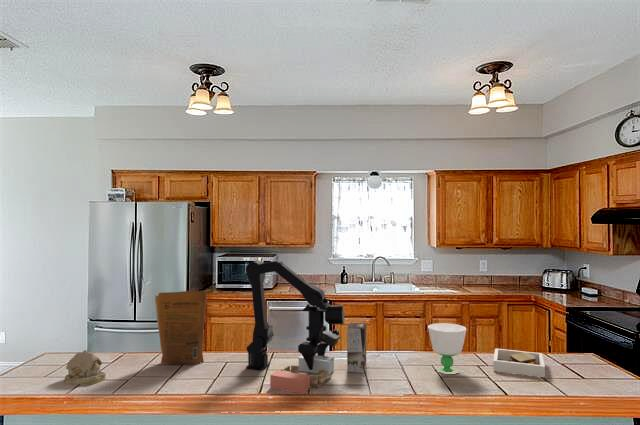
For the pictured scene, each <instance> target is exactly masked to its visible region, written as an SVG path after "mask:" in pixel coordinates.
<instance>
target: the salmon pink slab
mask: <svg viewBox="0 0 640 425" xmlns="http://www.w3.org/2000/svg"><path fill="white" fill-rule="evenodd" d="M269 378H270V379H269V383H270V384H269V385H270V386H269V388H270V389H273V390H279V391H285V392H292V393H297V394H305V393H306V392H307V391H308V390H310V388H311V387H310V375H305V374H299V373H292V372H285V371H281V370H276V371H275V372H273V373H271V374H269Z"/></svg>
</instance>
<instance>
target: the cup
mask: <svg viewBox="0 0 640 425" xmlns="http://www.w3.org/2000/svg"><path fill="white" fill-rule="evenodd" d="M427 329H428V334H429V339H430V344H431V347H432V351H434V353H436V354H438V355H440V356H442V357H441V358H440V364H441V366H444V368H441V369H440V370H442V371H445V372H452V371H454V370H453V369H451V368H450V367H453V365H454V359H453V357H454V356H458V355H460V354H461V353H462V351H463V348H464V343H465V338H466V333H467V327H465V326H464V325H460V324H456V323H449V322H448V323H447V322H446V323H444V322H438V323H431V324H429V325H427Z"/></svg>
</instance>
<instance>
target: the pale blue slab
mask: <svg viewBox="0 0 640 425" xmlns="http://www.w3.org/2000/svg"><path fill="white" fill-rule="evenodd" d="M298 365H299V372H306V373H313V374H318V369H319V368H320V369H326V371H327V376H331V374H332V373H333V372H334V371H335V357H333V356H327V355H326V356H325V355H324V356H318V354H316V355H315V356H314V363H313V370H309V368H308V366H307V363H306V361H305V359H304V358H303V356H302V355H300V356H299V357H298Z"/></svg>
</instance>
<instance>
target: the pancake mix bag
mask: <svg viewBox="0 0 640 425" xmlns="http://www.w3.org/2000/svg"><path fill="white" fill-rule="evenodd" d="M207 295H208V293H207V291H204V290H186V291H185V290H184V291H182V290H181V291H175V292H174V291H171V292H170V291H169V292H158V295H155V297H154V304H155V311H156V312H155V313H156V314H155V315H156V321H157V329H158V335H159V342H160V343H159V344H160V349H161V354H162V355H161V363H162V364H163V363H164V365H166V364H168V365H169V366H171V365H172V366H173V365H175V366H176V365H198V364H197V363H199V364H201V363H200V362H202V363H204V362H205V360H204V355H203V344H204V331H205V330H204V329H205V321H206V307H207Z"/></svg>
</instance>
